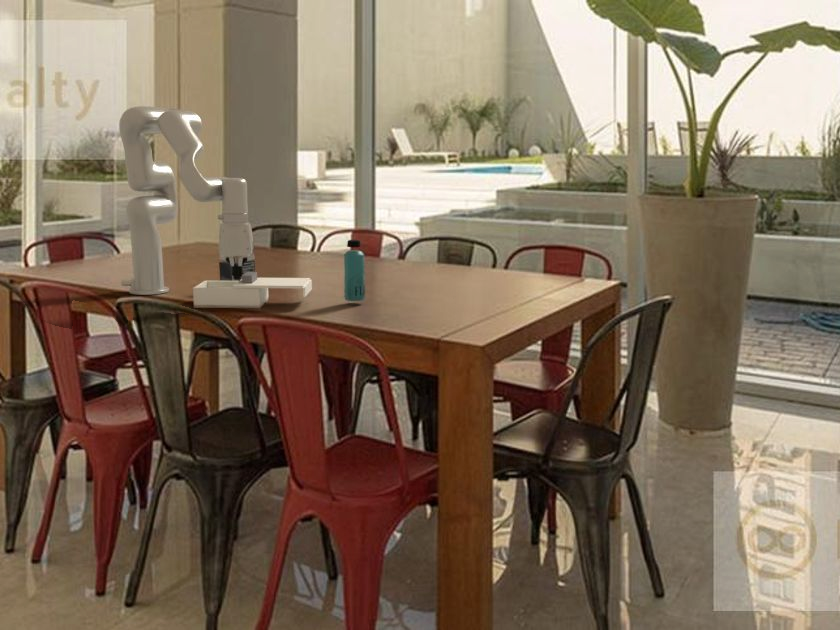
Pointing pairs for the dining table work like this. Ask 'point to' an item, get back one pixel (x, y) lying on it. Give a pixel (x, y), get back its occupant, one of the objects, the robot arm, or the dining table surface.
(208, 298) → the base
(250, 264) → the small box
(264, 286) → the lid
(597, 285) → the dining table surface
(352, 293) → the beverage bottle
